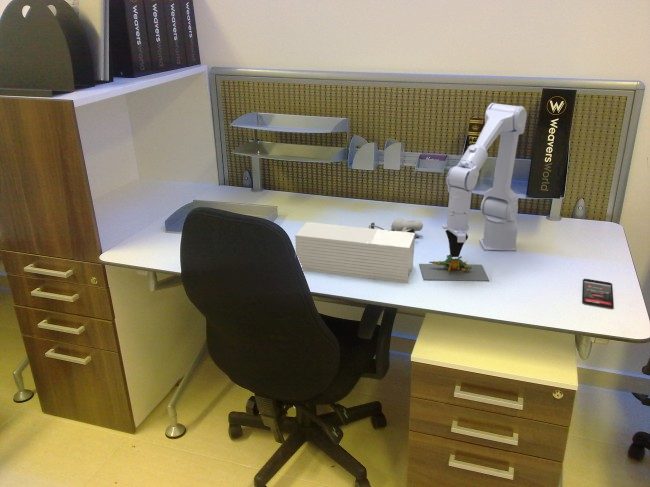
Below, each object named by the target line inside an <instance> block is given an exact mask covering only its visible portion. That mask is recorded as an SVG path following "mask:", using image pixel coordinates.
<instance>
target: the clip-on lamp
mask: <svg viewBox="0 0 650 487" xmlns="http://www.w3.org/2000/svg"><path fill="white" fill-rule="evenodd" d="M368 228H370V229H375V228H376V229H380V230H386V229H384V228H382V227H381V226H378V225H376V224H375V221H372V222H371V223H370V225H369V226H368ZM390 228H391V229H389V231H399V232H409V233H415V237H418V236H419V234H417V233H416V232H420V231H422V229H423V228H424V223H423V222H422V221H421V220H404V219H402V218H396V219H394V220H393V222H392V223H391V225H390Z"/></svg>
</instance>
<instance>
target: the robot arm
mask: <svg viewBox="0 0 650 487" xmlns="http://www.w3.org/2000/svg"><path fill="white" fill-rule="evenodd" d="M527 117H528V113H527V111H526V108H525V107H524V105H523V106H522V105H509V104H501V103H497V102H491V103H489V105H488V106H487V108H486V109H485V113H484V125H483V128H482V130H481V131H480V134H479V135H478V138H477V140H476V142H475V143H474V144H470V145H469V146H468V148H467V149H466V150H465V152H464V154H463V155H462V157H461V159H460V160H459V162H458V163H457V165H455V166H452V167H451V168H449V170H448V172H447V176H446V178H445V181H446V186H447V193H448V194H449V195H448V206H447V217H446V218H447V220H446V223H443V224H442V226H441V228H442V229H443V230H444V231H445V234H446V236H447V237H446V238H447V239H448V246H449V247H448V248H449V255H451V257H452V258H458V257H460V255H461V252H462V249H463V247H464V244H465V243H466V241H467V240H468V239H469V235H468V234H467V233H468V231H469V229H470V227H469V222H470V221H469V220H470V213H471V212H470V211H471V201H472V191H473V189H474V188H475V187H476V185H477V183H478V178H479V177H480V170H481V169H482V167H483V165H484V163H485V162H486V160H487V158H488V157H489V154H488V149H489V148H490V147H491V146H492V144H493V143H494V141H496V139H497V138H498V137H499V136H500V139H499V145H498V150H497V151H498V152H497V157H496V165H495V172H494V177H493V178H494V179H493V186H492V187H491V188H489V189H488V190H485V192H484V194H483V196H482V197H483V199H482V200H481V203H480V213H481V214H482V215H483V218H484V219H485V221H484V222H485V223H484V228H483V229H484V230H483V238H479V242H480V244H481V246H482V248H483V250H484V251H516V243H517V235H518V223H517V222H518V221H517V219H516V217H517V215H518V212H519V204H518V203H519V196H518V195H517V194H516V193H515V192H514V191H513V189H512V188H511V185H512V177H513V174H514V166H515V161H516V154H517V148H518V142H519V135H523V134H524V132H525V129H526V128H525V127H526V122H527Z"/></svg>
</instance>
